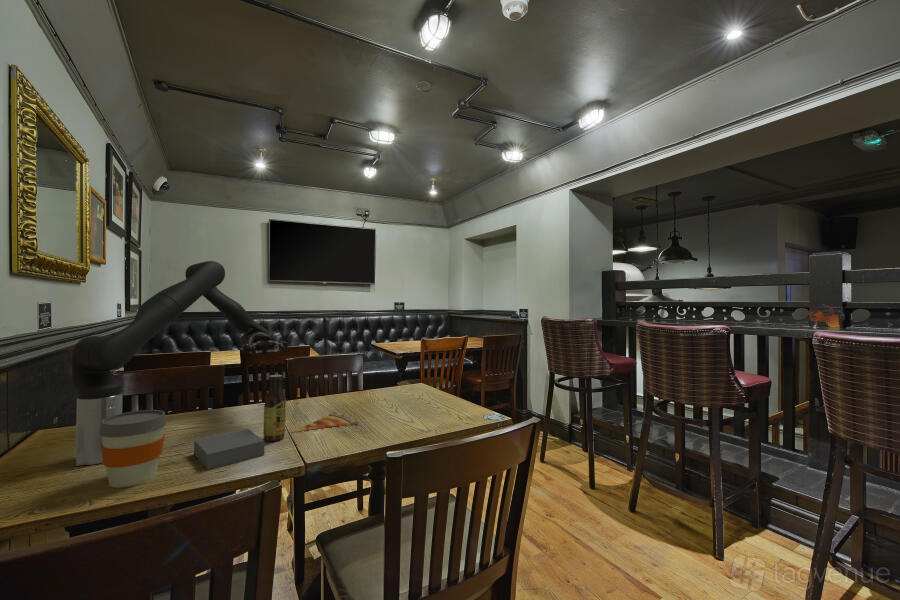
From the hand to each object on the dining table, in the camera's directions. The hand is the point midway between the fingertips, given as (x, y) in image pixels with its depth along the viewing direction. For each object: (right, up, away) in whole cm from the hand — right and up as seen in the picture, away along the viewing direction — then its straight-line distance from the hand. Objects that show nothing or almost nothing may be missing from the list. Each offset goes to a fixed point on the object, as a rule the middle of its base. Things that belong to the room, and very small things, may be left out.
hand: (268, 350), depth 130 cm
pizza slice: (+15, -28, +9) cm, 33 cm away
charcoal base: (-1, -27, -21) cm, 34 cm away
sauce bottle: (+6, -27, -8) cm, 29 cm away
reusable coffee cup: (-16, -27, -36) cm, 48 cm away
